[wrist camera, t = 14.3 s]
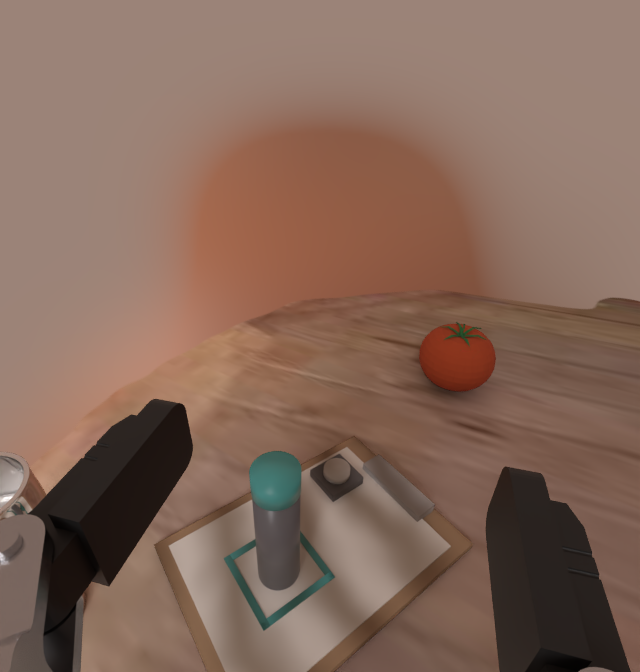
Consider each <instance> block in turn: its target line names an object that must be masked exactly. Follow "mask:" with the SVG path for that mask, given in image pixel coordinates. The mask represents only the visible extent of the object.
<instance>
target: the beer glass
mask: <svg viewBox="0 0 640 672" xmlns="http://www.w3.org/2000/svg"><path fill="white" fill-rule="evenodd" d="M45 496H46V493H45V491H44V489H43V487H42V486H41V484H40V483H39V481H38V480H37V478H36V477H35V475H34V474H33V472H32V471H31V469H30V467H29V465H28V463H27V461H25V459H24V458H23V457H21V456H19V455H17V454H14V453H10V452H0V521H1V520H3V519H5V518H8V517H11V516H15V515H22V514H28V513H29V512H30V511H31V510H33V509H34V508H35V507H36V506H37V505H38V504H39V502H40V501H41V500H42V499H43V498H44V497H45ZM82 595H83V602H84V604H83V610H84V606H85V591H84V593H83V594H82Z"/></svg>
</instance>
